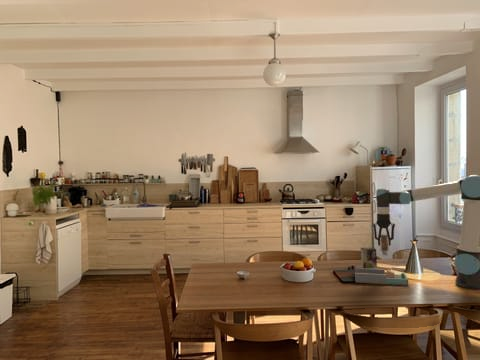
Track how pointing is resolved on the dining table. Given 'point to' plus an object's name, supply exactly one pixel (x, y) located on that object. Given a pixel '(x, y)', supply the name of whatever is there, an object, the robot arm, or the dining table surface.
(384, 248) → the brown block with tab
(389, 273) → the peach cube block
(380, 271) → the slot board
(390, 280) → the chute tray
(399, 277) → the cream cube
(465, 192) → the robot arm
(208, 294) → the dining table surface
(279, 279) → the dining table surface
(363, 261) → the coffee box
